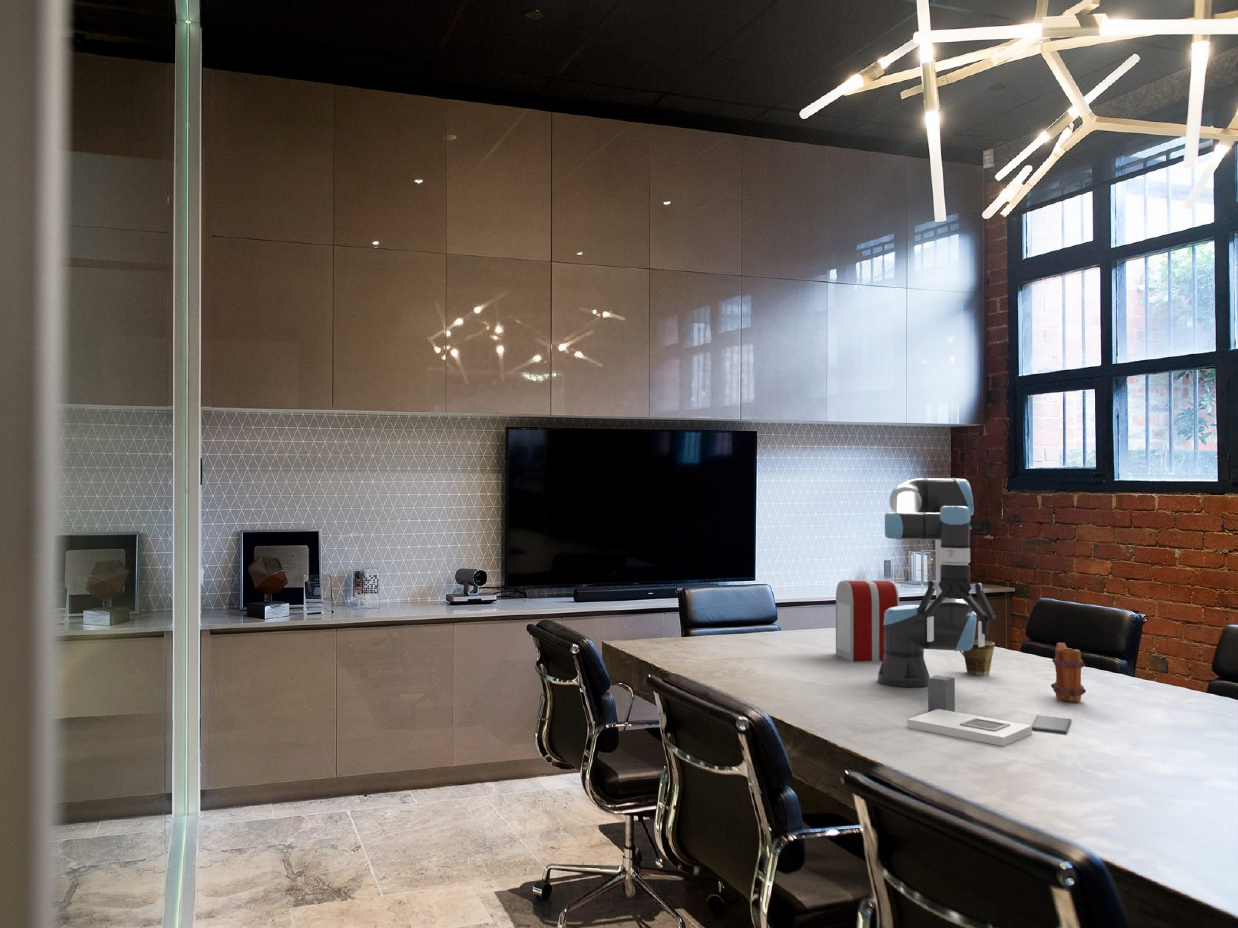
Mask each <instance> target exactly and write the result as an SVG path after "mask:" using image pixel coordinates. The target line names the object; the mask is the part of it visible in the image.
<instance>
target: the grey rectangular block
mask: <svg viewBox="0 0 1238 928" xmlns="http://www.w3.org/2000/svg"><path fill="white" fill-rule="evenodd" d="M955 681H956V678H955V677H954V676H953V677H952V676H947V675H945V676H944V675H937V674H936V675H932V676H930V677H928V686H927V712H930V711H933V710H936V709H941V710H947V711H952V712H956V699H955V698H956V696H955V695H956V693H955V691H956V685H955V684H956V682H955Z"/></svg>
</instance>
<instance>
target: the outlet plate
mask: <svg viewBox="0 0 1238 928" xmlns="http://www.w3.org/2000/svg"><path fill="white" fill-rule="evenodd" d="M906 720H907V721H906V722H907V725H906V726H907V728H909V729H914V730H920V731H925V732H930V733H933V734H934V733H935V734H939V735H944V736H949V737H955V738H959V739H966V740H970V741H974V742H981V743H986V744H991V745H995V746H996V745H997V746H1001V747H1006V746H1008V745H1010V744H1012V743H1014V742H1016V741H1019V740H1021V739H1025V738H1027V737H1029V736H1030V735H1032V734H1033V730H1032V724H1026V723H1020V722H1019V723H1018V722H1015V721H1014V722H1013V721H1010V720H1009V721H1007V720H1003V719H997V718H991V717H987V716H986V717H985V716H979V715H975V714H974V715H973V714H969V713H964V712H963V713H962V712H957V711H955V712H952V711H947V710H941V709H936V710H933V711H930V712H928V711H927V712H924V713H922V714H919V715H916V716H913V717H910V718H907V719H906Z"/></svg>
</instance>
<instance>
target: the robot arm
mask: <svg viewBox="0 0 1238 928" xmlns="http://www.w3.org/2000/svg"><path fill="white" fill-rule="evenodd" d="M889 506H890V508H891V510H892V511H890V512H886V513H885V514H884V536H885V537H886V538H887V539H893V540H933V541H934V540H935V542H934V544H935V546H934V547H935V580H934V579H933V580H928V583H927V589H926V592H925V594H924V595H923V598H922V600H921V601H920V603H919V604H905V605H899V606H896V607H891V608H889V609H887V610H886V611H885V613H884V623H883V625H884V658H883V661H881V664H880V667H879V671H878V673H877V681H878V682H879V683H880V684H883V685H888V686H893V687H900V688H901V687H903V688H921V687H922V688H923V687H928V677H931V676H930V674H929V669H928V667H927V664H926V661H925V657H924V655H925V653H924V651H925V650H939V651H940V650H941V651H954V652H958V651H959V652H960V651H962V652H963V651H968V650H970V649H971V648H972V647H973V643H974V640H975V635H976V627H977V626H978V627H977V634H978V635H977V637H978V638H977V640H978V647H983V646H985V641H986V640H985V639H986V637H985V635H988V634H989V622H990V621H993V620H996V618H997V617H996V614H995V612H994V610H993V607H992V605H991V604H990V602H989V600H988V598H987V595H986V594H985V590H984V585H983V583H981V582H979V583H971V566H970V564H969V563H971V545H970V544H971V520H972V519H971V516H973V515H974V512H975V508H974V506H975V505H974V496H973V493H972V487H971V484H970V482H969V481H968V480H967V479H965V478H956V477H952V478H923V477H922V478H921V477H920V478H913V479H910V480H907V481H905V482H903V483H901V484H899V485H897V486H896V487H895V488H894V489H893V491H891V493H890V496H889ZM971 590H973V592H975V594H976V596H977V598H978V601H979V603H980V604H981V606H980V605H979V604H978V603H977V601H975V600H976V599H974V597H973V596H972V594H971V593H970V592H971ZM934 593H935V600H934V601H932V603H931V604H930V605H929V603H930V602H931V599H932V597H933V596H934ZM928 606H929V607H928ZM927 607H928V608H927ZM981 607H982V608H981ZM977 617H978V618H979V620H980V621H977ZM977 622H978V623H977Z"/></svg>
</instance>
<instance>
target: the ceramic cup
mask: <svg viewBox="0 0 1238 928" xmlns="http://www.w3.org/2000/svg"><path fill="white" fill-rule="evenodd" d="M994 650H995V642H993V641H990V640H985V646H983V647H978V639H974V643H973V647H972V648H971V649H970V650H968V651H959V652H960V653H961V655H962V656H963V657H964V661H965V667H966V673H967V674H969V675H973V676H988V675H990V671H991V665H992V658H993V654H994Z"/></svg>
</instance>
